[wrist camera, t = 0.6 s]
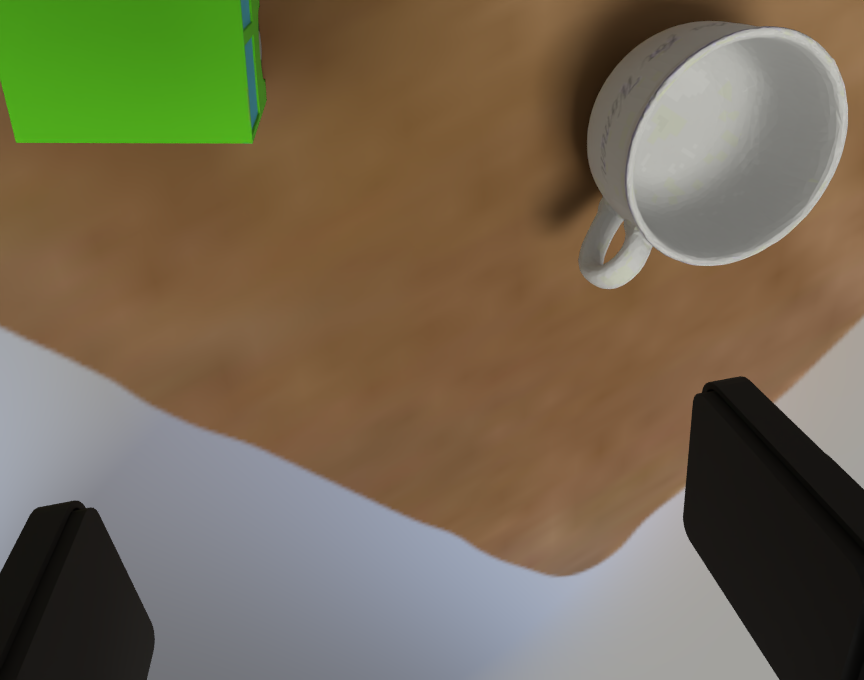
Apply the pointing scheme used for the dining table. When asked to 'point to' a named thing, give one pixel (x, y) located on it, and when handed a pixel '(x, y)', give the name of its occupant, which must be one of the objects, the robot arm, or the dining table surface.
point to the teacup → (710, 145)
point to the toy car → (132, 70)
